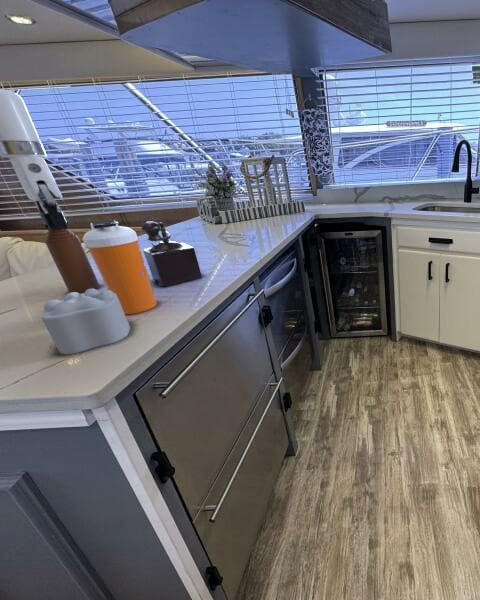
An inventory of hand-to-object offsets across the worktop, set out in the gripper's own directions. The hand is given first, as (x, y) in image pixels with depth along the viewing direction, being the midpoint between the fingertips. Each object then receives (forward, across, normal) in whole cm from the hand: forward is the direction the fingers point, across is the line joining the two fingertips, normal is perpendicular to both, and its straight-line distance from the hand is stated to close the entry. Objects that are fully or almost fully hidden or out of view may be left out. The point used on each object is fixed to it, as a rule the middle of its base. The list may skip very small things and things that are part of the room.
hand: (56, 227), depth 83 cm
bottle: (+17, 0, 0) cm, 17 cm away
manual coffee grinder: (+17, -18, -17) cm, 30 cm away
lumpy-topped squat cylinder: (+17, -39, +7) cm, 43 cm away
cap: (-1, 0, 0) cm, 1 cm away
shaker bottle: (+17, -30, -3) cm, 35 cm away
